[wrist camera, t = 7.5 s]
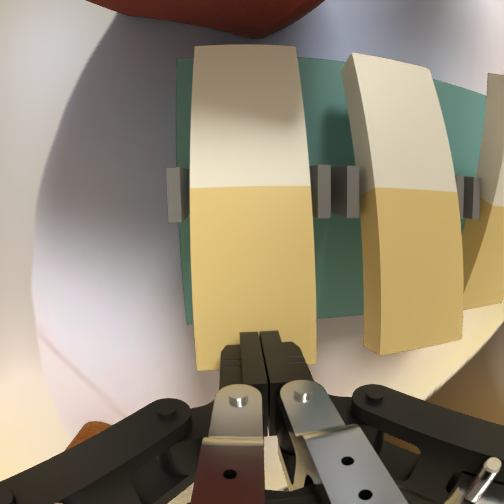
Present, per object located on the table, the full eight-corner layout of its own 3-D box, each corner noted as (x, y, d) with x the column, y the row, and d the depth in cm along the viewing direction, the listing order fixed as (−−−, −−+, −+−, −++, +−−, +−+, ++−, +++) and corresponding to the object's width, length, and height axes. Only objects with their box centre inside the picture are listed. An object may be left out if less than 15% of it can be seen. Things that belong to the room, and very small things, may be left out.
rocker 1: (197, 67, 15) (194, 46, 13) (289, 67, 15) (295, 46, 13) (201, 357, 14) (197, 370, 12) (306, 352, 15) (316, 363, 13)
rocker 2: (340, 71, 16) (351, 52, 14) (413, 83, 16) (429, 68, 14) (363, 345, 15) (379, 355, 13) (440, 332, 15) (461, 339, 13)
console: (187, 81, 21) (161, 22, 12) (455, 105, 23) (532, 88, 13) (194, 302, 25) (176, 373, 15) (450, 284, 27) (520, 324, 17)
